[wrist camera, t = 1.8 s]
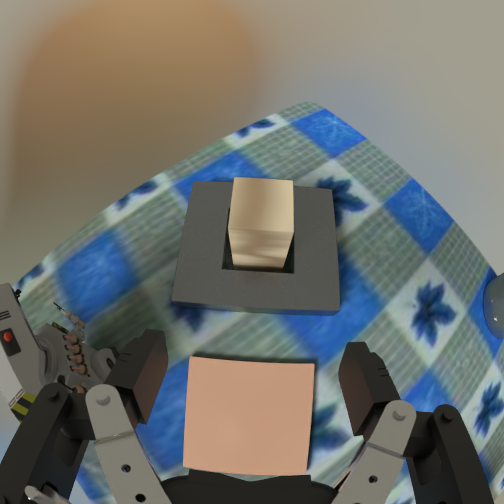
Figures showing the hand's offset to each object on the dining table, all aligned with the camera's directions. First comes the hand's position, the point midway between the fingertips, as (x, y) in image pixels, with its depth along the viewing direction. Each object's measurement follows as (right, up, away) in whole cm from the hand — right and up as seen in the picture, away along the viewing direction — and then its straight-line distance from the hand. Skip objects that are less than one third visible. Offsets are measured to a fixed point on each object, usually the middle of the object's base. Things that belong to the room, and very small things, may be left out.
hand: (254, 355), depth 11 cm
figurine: (-18, -8, +13) cm, 24 cm away
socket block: (+1, +5, +19) cm, 19 cm away
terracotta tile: (0, -12, +12) cm, 16 cm away
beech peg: (+1, +5, +19) cm, 20 cm away
